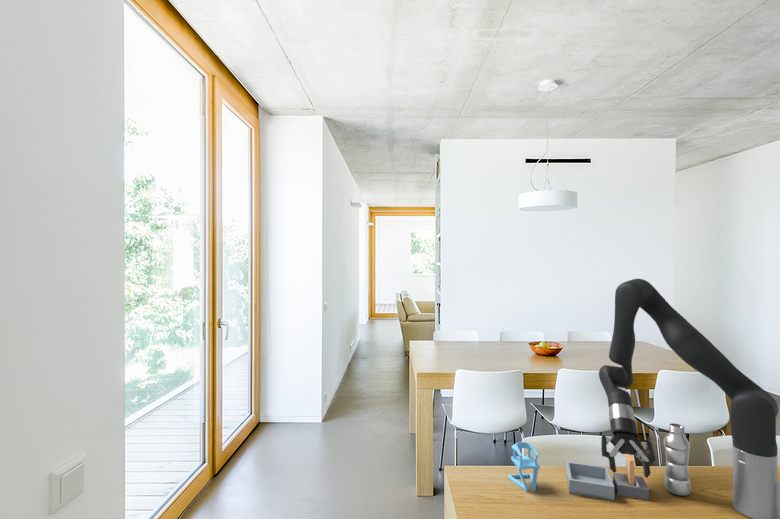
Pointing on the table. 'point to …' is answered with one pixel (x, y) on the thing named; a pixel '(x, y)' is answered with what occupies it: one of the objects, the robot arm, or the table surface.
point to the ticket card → (630, 469)
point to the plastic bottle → (677, 461)
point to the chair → (524, 465)
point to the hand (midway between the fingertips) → (630, 474)
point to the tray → (589, 480)
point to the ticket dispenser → (630, 487)
